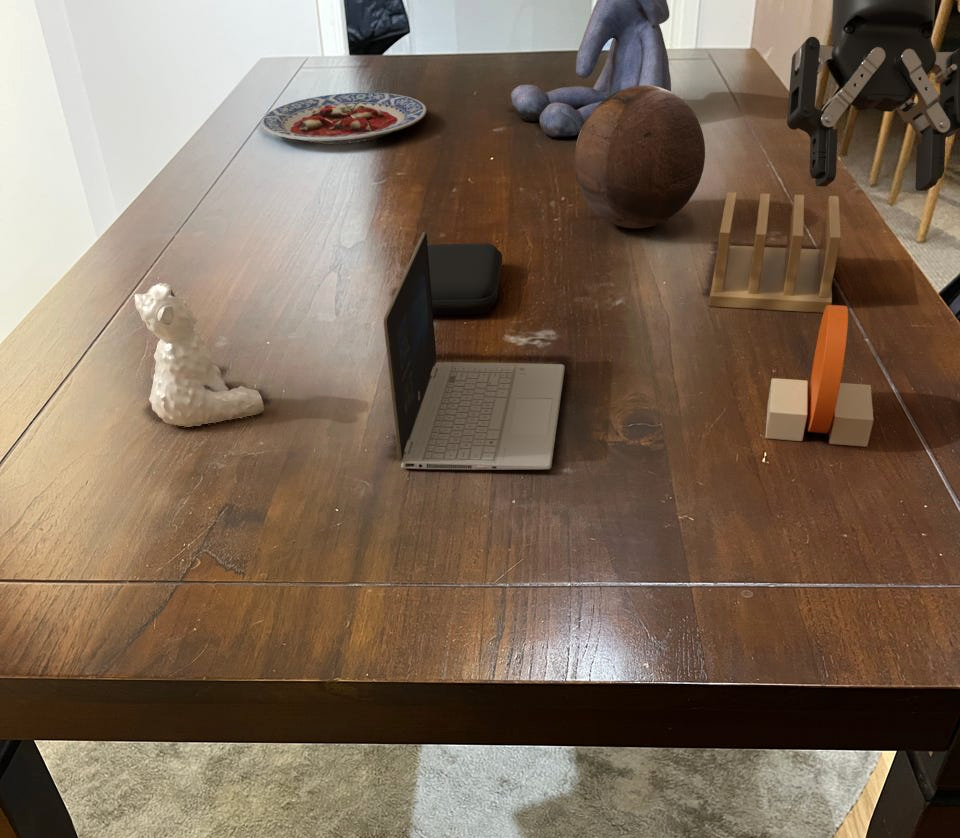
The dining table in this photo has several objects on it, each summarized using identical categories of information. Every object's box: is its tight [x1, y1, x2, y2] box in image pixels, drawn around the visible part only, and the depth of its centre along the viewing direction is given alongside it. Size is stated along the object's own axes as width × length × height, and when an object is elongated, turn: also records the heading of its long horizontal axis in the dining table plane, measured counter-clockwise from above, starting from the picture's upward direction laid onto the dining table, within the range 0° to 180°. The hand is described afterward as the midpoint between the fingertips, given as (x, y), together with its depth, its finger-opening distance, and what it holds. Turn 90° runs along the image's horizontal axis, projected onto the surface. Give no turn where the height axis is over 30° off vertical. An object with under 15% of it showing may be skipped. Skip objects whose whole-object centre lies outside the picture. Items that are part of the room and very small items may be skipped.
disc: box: [806, 304, 849, 434], centre depth 82 cm, size 2×10×10 cm, turn 166°
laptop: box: [383, 230, 566, 471], centre depth 84 cm, size 18×12×13 cm
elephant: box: [510, 0, 672, 139], centre depth 151 cm, size 21×25×21 cm
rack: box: [708, 191, 842, 314], centre depth 105 cm, size 12×14×7 cm
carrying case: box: [427, 242, 503, 316], centre depth 108 cm, size 11×3×15 cm
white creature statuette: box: [134, 282, 265, 427], centre depth 87 cm, size 10×9×12 cm
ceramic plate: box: [261, 92, 427, 144], centre depth 158 cm, size 26×26×3 cm
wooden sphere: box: [574, 85, 706, 229], centre depth 117 cm, size 15×15×15 cm
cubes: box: [764, 377, 874, 448], centre depth 84 cm, size 8×6×2 cm
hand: (876, 185), depth 80 cm, fingers open, 8 cm apart
